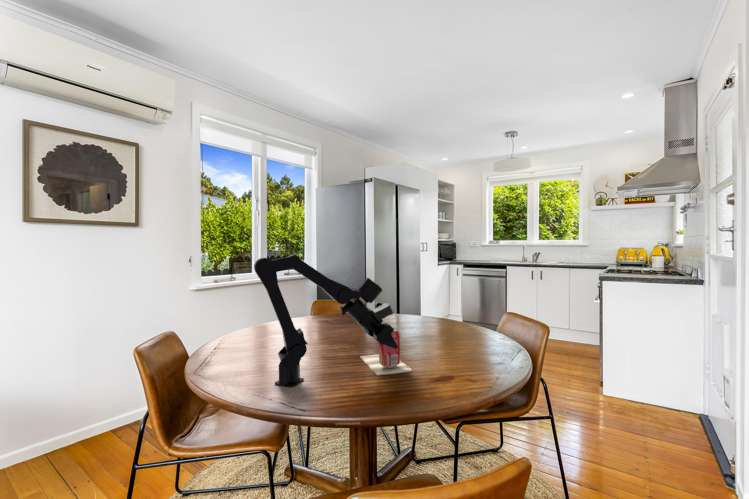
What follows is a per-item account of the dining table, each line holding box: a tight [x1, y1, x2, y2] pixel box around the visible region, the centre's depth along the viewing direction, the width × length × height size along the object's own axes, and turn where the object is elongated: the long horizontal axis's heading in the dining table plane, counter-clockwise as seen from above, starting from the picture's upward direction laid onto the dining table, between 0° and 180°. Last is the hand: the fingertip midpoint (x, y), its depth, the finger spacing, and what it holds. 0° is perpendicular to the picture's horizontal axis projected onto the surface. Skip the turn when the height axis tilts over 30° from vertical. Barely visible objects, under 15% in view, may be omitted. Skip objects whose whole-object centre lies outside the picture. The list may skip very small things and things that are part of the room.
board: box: [359, 353, 413, 376], centre depth 131 cm, size 20×12×1 cm, turn 18°
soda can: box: [378, 327, 401, 368], centre depth 125 cm, size 7×7×12 cm
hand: (393, 345), depth 126 cm, fingers closed on soda can, 7 cm apart
